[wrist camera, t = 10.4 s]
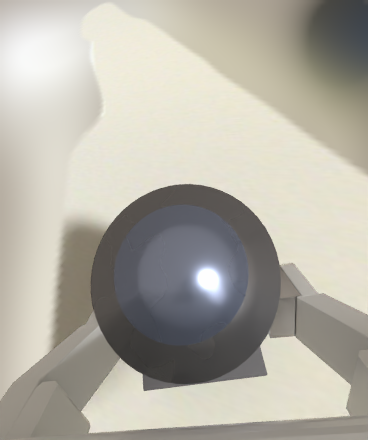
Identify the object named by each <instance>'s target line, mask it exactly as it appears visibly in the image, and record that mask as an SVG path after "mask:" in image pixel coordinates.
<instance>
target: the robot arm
mask: <svg viewBox="0 0 368 440" xmlns="http://www.w3.org/2000/svg"><path fill="white" fill-rule="evenodd" d="M280 275H281V293H280V299H279V305H278V309H277V312H276V316H275V319H274V322H273V324H272V326H271V328H270V330H269V332H268V333H269V336H270V338H277V337H289V336H296V338H297V339H298V340H300V341H301V342H302V343H303V344H304V345H305V346H306V347H308V348H309V349H310V350H311V351H312V352H313V353H315V354H316V355H317V356H318V357H319V358H320V359H322V360H323V361H324V362H325V363H326V364H327V365H329V366H330V367H331V368H332V369H333V370H334V371H335V372H337V373H338V374H339V375H340V376H341V377H342V378H344V379H345V380H346V381H347V382H348V383H349V384H351V389H350V393H349V398H348V402H347V407H346V409H347V410H348V412H349V414H350V416H343V417H328V418H312V419H297V420H282V421H267V422H252V423H236V424H221V425H206V426H191V427H176V428H161V429H145V430H130V431H115V432H100V433H88V432H89V429H90V423H89V421H88V420H87V419H86V417H85V416H84V415H83V414H82V412H81V411H82V409H83V408H84V406H85V405H86V404H87V402H88V401H89V400H90V398H91V397H92V395H93V394H94V393H95V391H96V390H97V389H98V387H99V386H100V385H101V383H102V382H103V380H104V379H105V378H106V376H107V375H108V374H109V372H110V371H111V369H112V368H113V367H114V365H115V364H116V363H117V361H118V360H119V358H120V357H119V356H118V355H117V354H116V353H115V351H114V350H113V349H112V348H111V346H110V345H109V344H108V342H107V341H106V339H105V337H104V335H103V333H102V332H101V330H100V327H99V325H98V322H97V320H96V317H95V313H94V310H93V312H92V314H91V315H90V317H89V319H88V321H87V323H86V324H85V325H81V326H80V327H79V328H78V329H77V330H75V331H74V332H73V333H72V334H71V335H69V336H68V337H67V338H66V339H65V340H64V341H62V342H61V343H60V344H59V345H58V346H56V347H55V348H54V349H53V350H52V351H50V352H49V353H48V354H47V355H46V356H45V357H43V358H42V359H41V360H40V361H39V362H38V363H36V364H35V365H34V366H33V367H31V368H30V369H29V370H28V371H27V372H26V373H24V374H23V375H22V376H21V377H20V378H18V379H17V380H16V381H15V382H14V383H13V384H12V385H11V387H10V388H9V389H8V391H7V392H6V394H5V395H4V396H3V398H2V399H1V401H0V440H368V315H367V314H365V313H363V312H361V311H359V310H357V309H355V308H352V307H350V306H348V305H346V304H344V303H342V302H340V301H338V300H336V299H334V298H332V297H330V296H328V295H326V294H324V293H322V294H318V292H317V291H316V290H315V289H314V287H313V286H312V285H311V284H310V283H309V281H308V280H307V279H306V278H305V276H304V275H303V274H302V273H301V272H300V270H299V269H298V268H297V267H296V265H295V264H293V263H289V264H283V265H280Z"/></svg>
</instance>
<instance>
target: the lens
mask: <svg viewBox="0 0 368 440" xmlns="http://www.w3.org/2000/svg"><path fill="white" fill-rule="evenodd" d="M280 293H281V275H280V265H279V261H278V257H277V252H276V250H275V247H274V244H273V242H272V239H271V237H270V236H269V234H268V232H267V230H266V228H265V227H264V225H263V224H262V223H261V221H260V220H259V218H258V217H257V216H256V215H255V214H254V213H253V212H252V211H251V210H250V209H249V208H248V207H247V206H245V205H244V204H243V203H242V202H241V201H239V200H237V199H236V198H234V197H233V196H231V195H229V194H227V193H225V192H223V191H220V190H217V189H214V188H211V187H207V186H202V185H193V184H183V185H173V186H168V187H164V188H160V189H157V190H155V191H152V192H150V193H148V194H146V195H144V196H142V197H140V198H138V199H137V200H135V201H134V202H133V203H131V204H130V205H129V206H128V207H126V208H125V209H124V210H123V211H122V212H121V213H120V214H119V215H118V216H117V217H116V218H115V220H114V221H113V222H112V223H111V225H110V226H109V228H108V229H107V231H106V233H105V234H104V236H103V238H102V240H101V242H100V244H99V246H98V249H97V252H96V255H95V258H94V263H93V267H92V275H91V297H92V304H93V309H94V313H95V317H96V320H97V322H98V325H99V327H100V330H101V332H102V333H103V335H104V337H105V339H106V341H107V342H108V344H109V345H110V346H111V348H112V349H113V350H114V351H115V353H116V354H117V355H118V356H119V357H120V358H121V359H122V360H123V361H124V362H125V363H127V364H128V365H129V366H131V367H132V368H134V369H135V370H136V371H138V372H140V373H142V374H144V375H146V376H148V377H150V378H153V379H156V380H159V381H162V382H167V383H174V384H195V383H201V382H207V381H210V380H213V379H216V378H219V377H221V376H223V375H225V374H227V373H229V372H231V371H233V370H234V369H236V368H237V367H238V366H240V365H241V364H242V363H244V362H245V361H246V360H247V359H248V358H249V357H250V356H251V355H252V354H253V353H254V352H255V351H256V350H257V349H258V348H259V346H260V345H261V343H262V342H263V340H264V339H265V337H266V336H267V334H268V332H269V330H270V328H271V326H272V324H273V322H274V319H275V316H276V312H277V309H278V305H279V299H280Z"/></svg>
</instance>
